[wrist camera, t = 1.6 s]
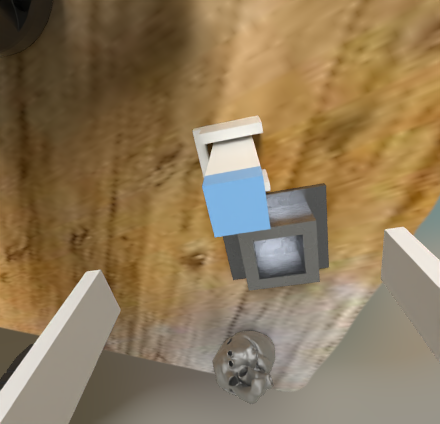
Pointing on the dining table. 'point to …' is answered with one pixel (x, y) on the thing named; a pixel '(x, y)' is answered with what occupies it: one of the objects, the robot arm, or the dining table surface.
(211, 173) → the plug
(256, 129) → the holster
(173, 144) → the dining table surface
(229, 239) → the port panel
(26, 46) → the robot arm
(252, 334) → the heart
